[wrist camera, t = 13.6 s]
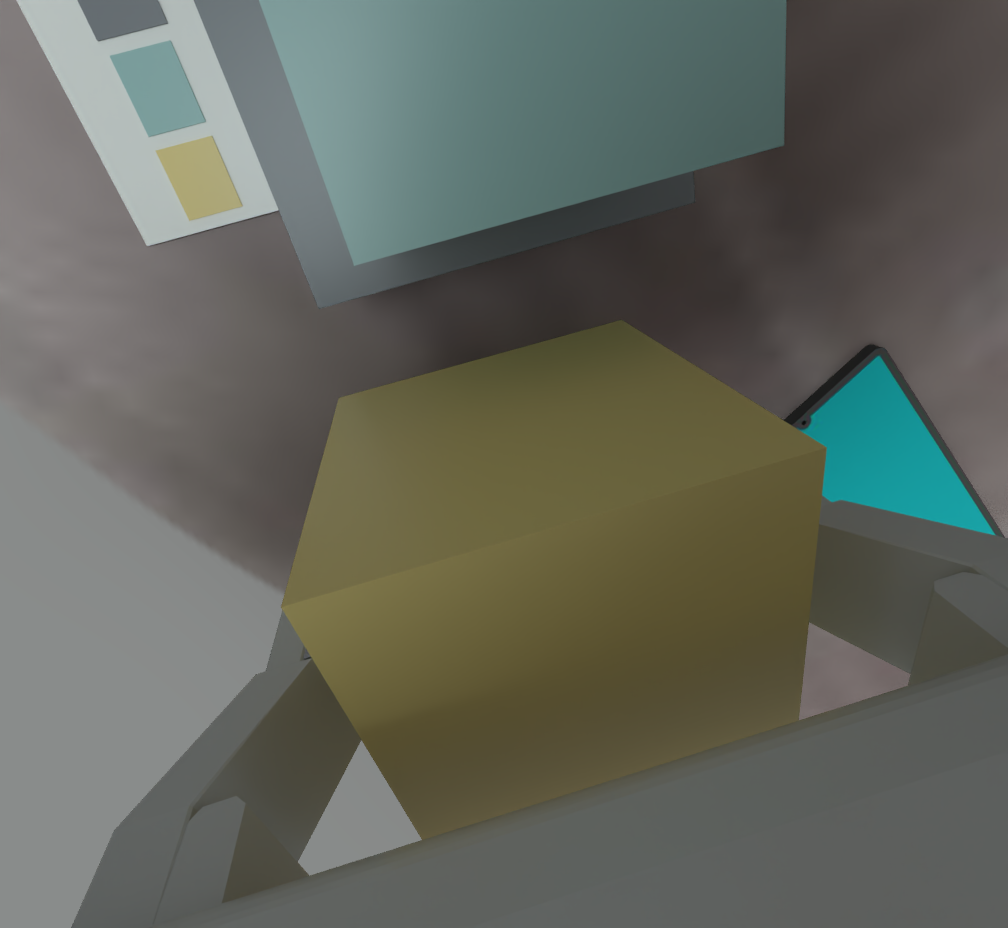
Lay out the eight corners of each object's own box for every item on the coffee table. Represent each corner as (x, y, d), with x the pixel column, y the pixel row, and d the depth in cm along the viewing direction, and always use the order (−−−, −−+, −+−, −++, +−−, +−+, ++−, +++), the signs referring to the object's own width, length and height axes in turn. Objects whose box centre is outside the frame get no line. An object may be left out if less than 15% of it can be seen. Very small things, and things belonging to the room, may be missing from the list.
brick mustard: (338, 397, 9) (281, 606, 4) (621, 320, 9) (826, 448, 5) (438, 638, 12) (461, 904, 7) (649, 575, 12) (790, 797, 8)
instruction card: (-11, -55, 11) (-16, -58, 11) (177, -101, 11) (174, -106, 11) (148, 245, 14) (146, 246, 14) (296, 205, 14) (295, 205, 14)
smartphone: (885, 647, 26) (724, 487, 20) (872, 635, 27) (712, 476, 21) (1015, 549, 25) (885, 341, 18) (997, 539, 25) (865, 335, 19)
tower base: (201, -107, 11) (68, -307, 7) (559, -196, 11) (658, -444, 7) (343, 276, 15) (318, 308, 11) (611, 201, 15) (694, 202, 11)
